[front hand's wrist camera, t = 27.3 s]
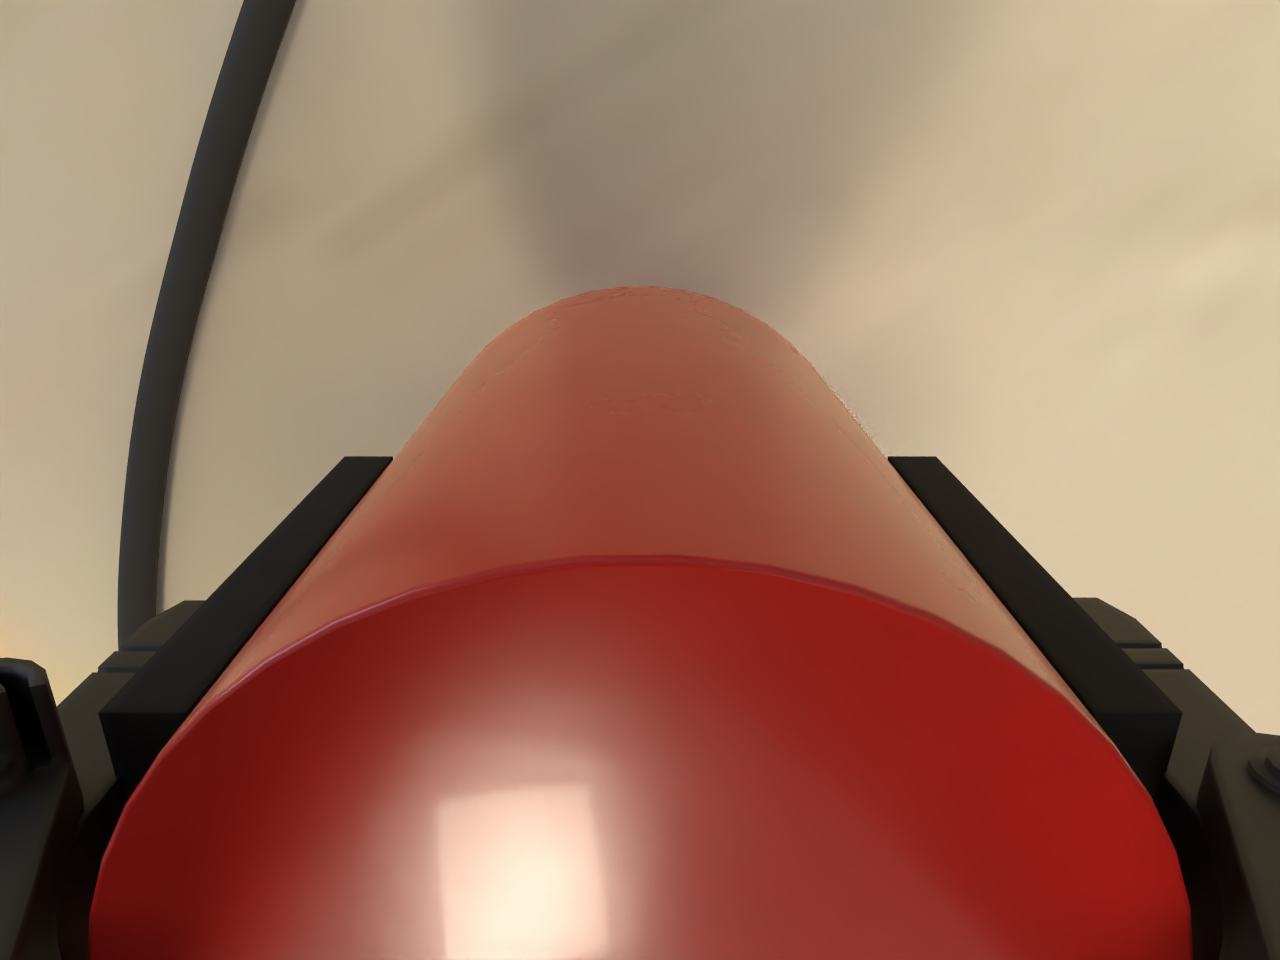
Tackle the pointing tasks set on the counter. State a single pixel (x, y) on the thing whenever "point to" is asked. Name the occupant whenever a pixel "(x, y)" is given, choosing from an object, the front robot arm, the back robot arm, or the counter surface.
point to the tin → (640, 700)
